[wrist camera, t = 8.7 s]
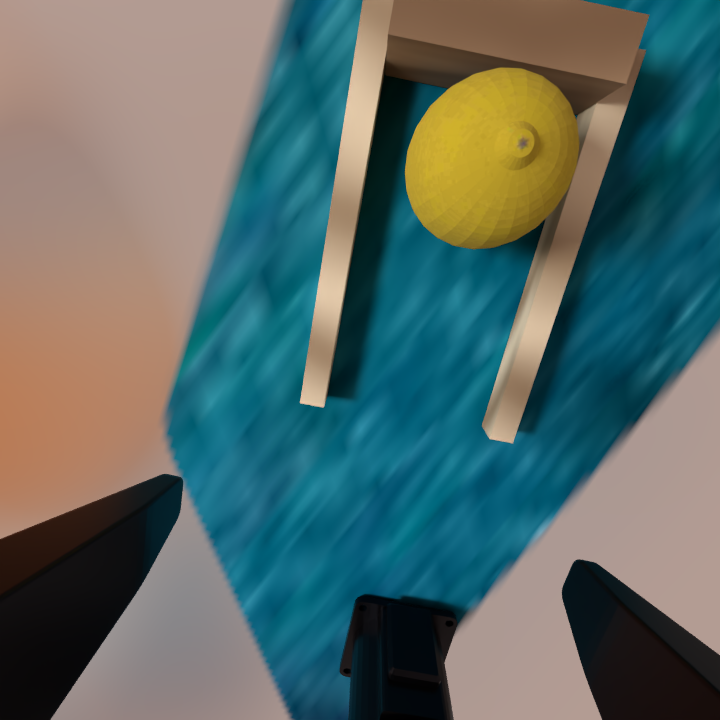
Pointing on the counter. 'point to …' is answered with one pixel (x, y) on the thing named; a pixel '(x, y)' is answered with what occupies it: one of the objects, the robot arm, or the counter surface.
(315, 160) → the counter surface
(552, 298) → the channel
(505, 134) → the lemon
